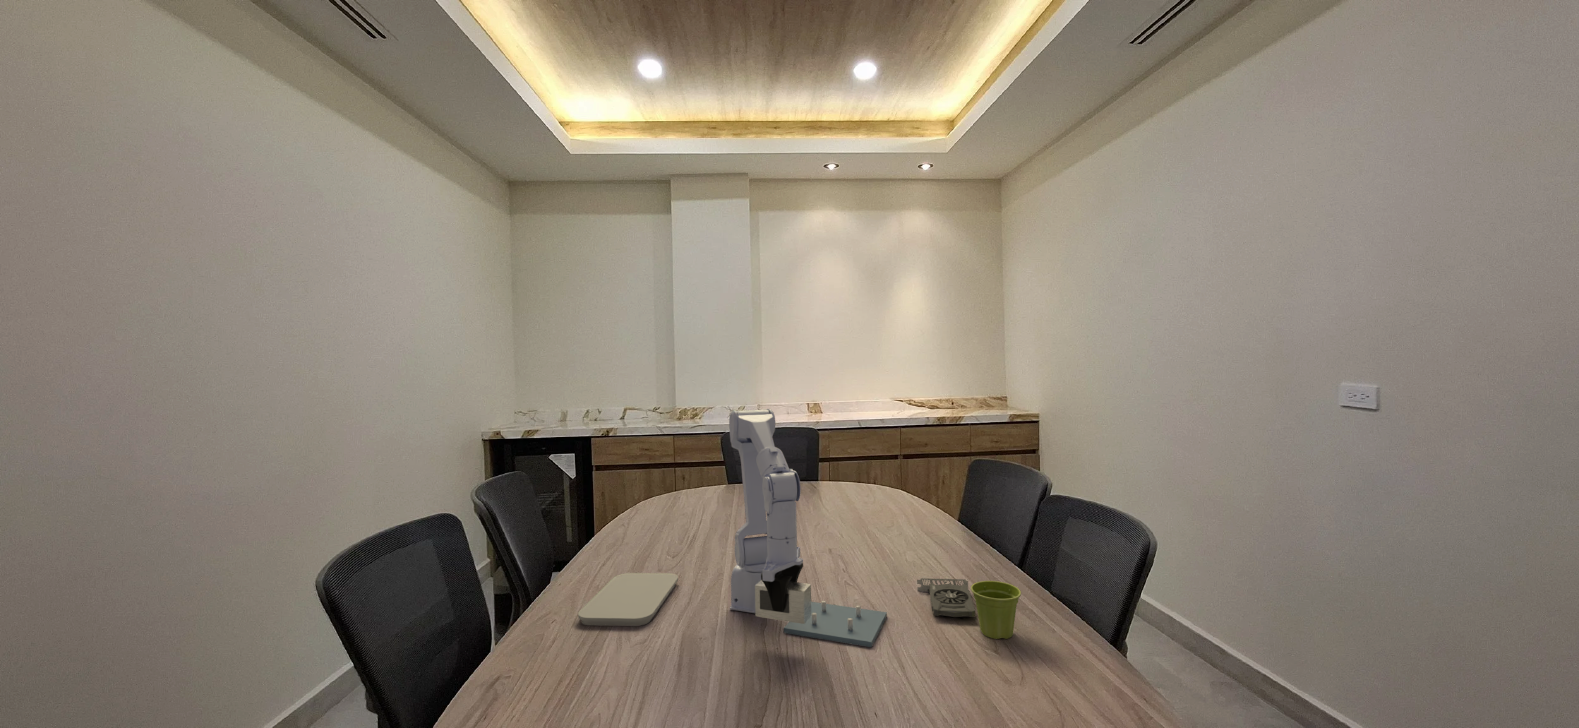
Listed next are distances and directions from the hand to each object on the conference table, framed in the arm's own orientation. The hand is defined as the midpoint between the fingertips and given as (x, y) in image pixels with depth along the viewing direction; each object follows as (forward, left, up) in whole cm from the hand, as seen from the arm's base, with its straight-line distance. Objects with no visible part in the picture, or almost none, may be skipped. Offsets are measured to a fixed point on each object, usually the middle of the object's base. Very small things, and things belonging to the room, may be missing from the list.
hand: (783, 605), depth 111 cm
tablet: (-41, +8, -8) cm, 43 cm away
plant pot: (+38, +19, -8) cm, 43 cm away
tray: (+7, +12, -8) cm, 16 cm away
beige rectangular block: (0, 0, -2) cm, 2 cm away
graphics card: (+27, +29, -8) cm, 41 cm away
